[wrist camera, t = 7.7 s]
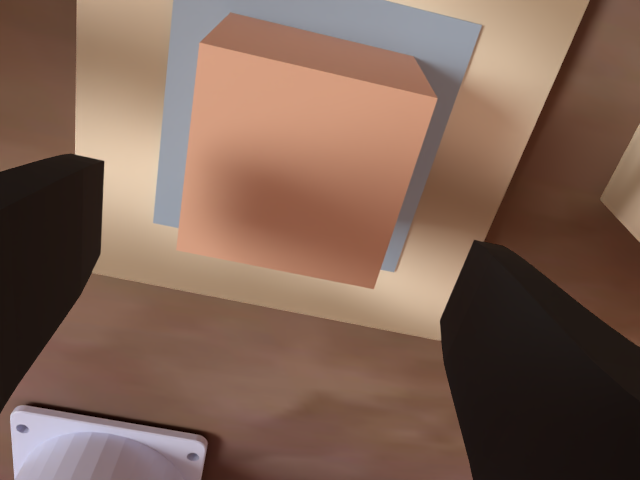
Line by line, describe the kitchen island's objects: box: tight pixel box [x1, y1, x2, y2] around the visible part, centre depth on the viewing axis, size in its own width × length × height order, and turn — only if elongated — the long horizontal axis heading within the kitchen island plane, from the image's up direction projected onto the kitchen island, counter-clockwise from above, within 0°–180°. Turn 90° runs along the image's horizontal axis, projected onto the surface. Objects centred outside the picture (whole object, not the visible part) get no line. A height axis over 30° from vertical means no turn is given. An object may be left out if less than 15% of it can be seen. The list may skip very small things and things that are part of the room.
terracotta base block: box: [176, 12, 438, 289], centre depth 14 cm, size 5×5×4 cm
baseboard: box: [75, 0, 590, 341], centre depth 17 cm, size 13×13×1 cm
